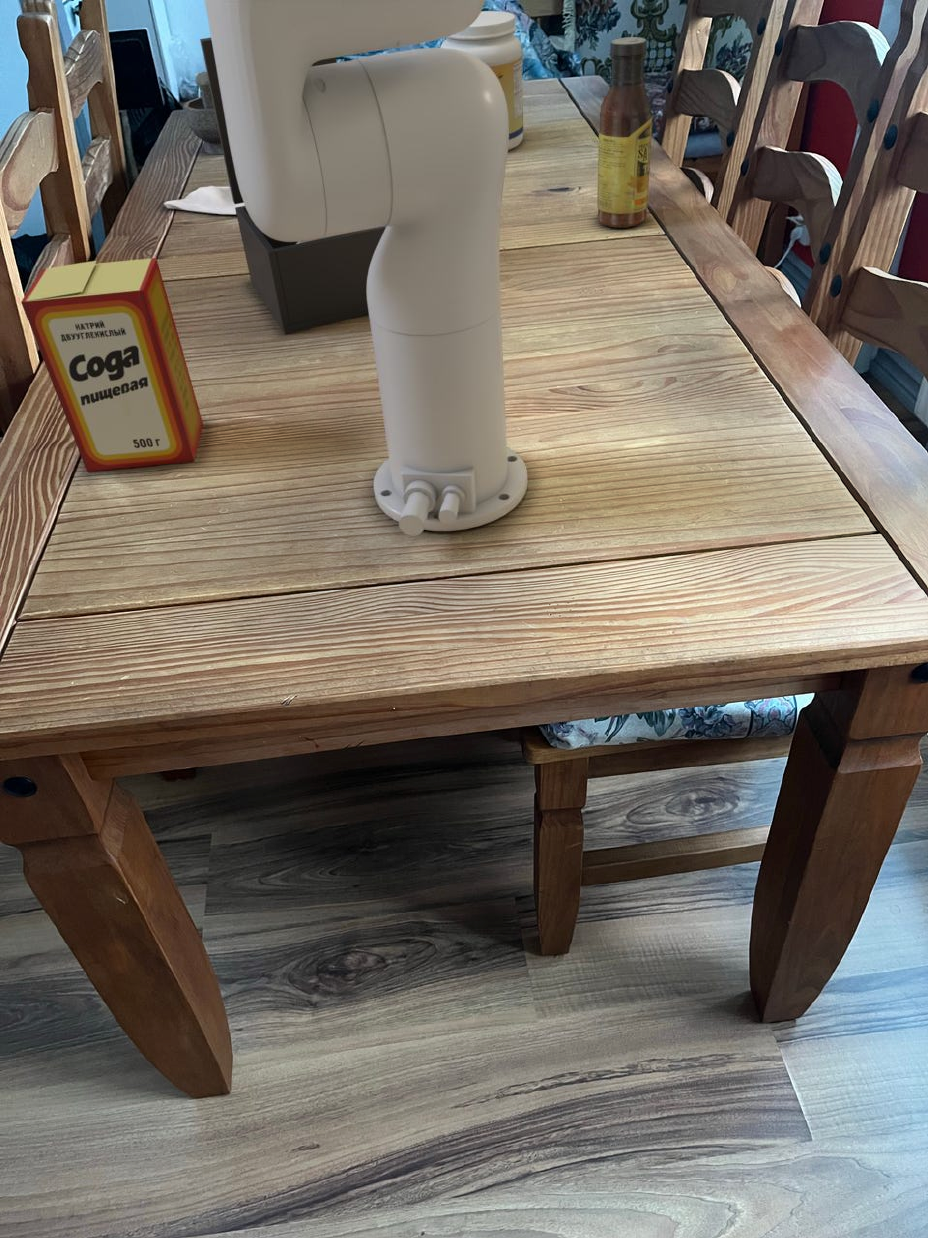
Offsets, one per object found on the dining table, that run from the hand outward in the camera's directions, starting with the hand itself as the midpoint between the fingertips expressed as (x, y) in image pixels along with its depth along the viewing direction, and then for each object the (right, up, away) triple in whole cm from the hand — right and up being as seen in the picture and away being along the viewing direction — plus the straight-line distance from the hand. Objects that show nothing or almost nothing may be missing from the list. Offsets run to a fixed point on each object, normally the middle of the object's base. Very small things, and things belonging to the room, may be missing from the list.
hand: (284, 11), depth 89 cm
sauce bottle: (+37, -6, +32) cm, 49 cm away
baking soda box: (-12, -41, -2) cm, 43 cm away
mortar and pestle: (-22, +20, +67) cm, 73 cm away
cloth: (-13, +3, +47) cm, 49 cm away
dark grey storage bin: (+1, -19, +21) cm, 28 cm away
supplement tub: (+20, +17, +59) cm, 65 cm away
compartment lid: (-3, -2, +14) cm, 14 cm away
